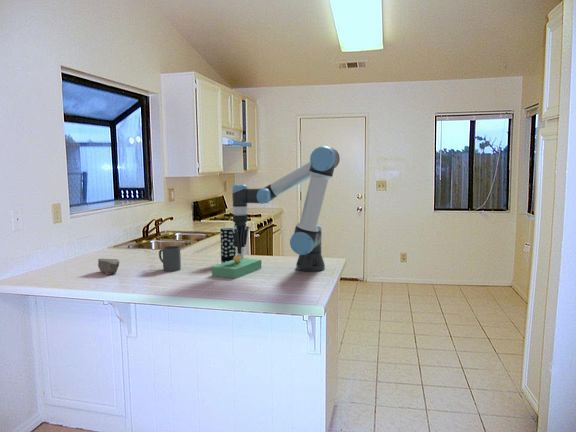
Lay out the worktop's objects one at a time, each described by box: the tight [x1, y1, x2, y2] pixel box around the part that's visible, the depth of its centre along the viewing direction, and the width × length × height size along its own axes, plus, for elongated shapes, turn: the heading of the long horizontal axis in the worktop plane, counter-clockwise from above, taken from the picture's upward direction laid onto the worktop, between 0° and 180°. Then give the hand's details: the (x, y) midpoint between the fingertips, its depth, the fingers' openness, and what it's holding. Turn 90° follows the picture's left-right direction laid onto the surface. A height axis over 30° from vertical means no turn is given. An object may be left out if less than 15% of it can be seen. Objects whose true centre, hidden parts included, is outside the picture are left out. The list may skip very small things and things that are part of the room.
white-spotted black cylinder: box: [219, 227, 237, 264], centre depth 255 cm, size 8×8×20 cm
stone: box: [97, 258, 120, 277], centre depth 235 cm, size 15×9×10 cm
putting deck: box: [211, 257, 262, 279], centre depth 237 cm, size 14×25×5 cm, turn 153°
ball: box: [233, 254, 241, 263], centre depth 237 cm, size 4×4×4 cm
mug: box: [158, 245, 182, 272], centre depth 244 cm, size 14×9×12 cm
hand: (240, 259), depth 240 cm, fingers closed
